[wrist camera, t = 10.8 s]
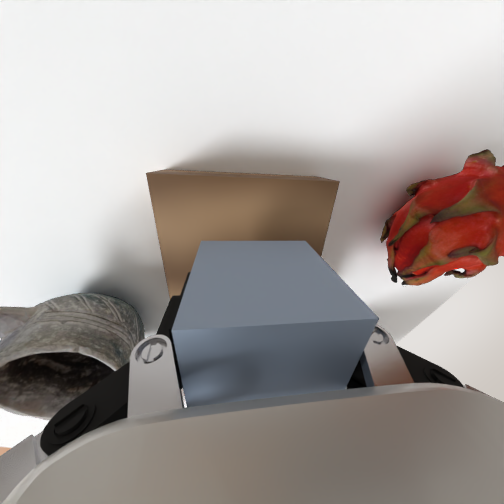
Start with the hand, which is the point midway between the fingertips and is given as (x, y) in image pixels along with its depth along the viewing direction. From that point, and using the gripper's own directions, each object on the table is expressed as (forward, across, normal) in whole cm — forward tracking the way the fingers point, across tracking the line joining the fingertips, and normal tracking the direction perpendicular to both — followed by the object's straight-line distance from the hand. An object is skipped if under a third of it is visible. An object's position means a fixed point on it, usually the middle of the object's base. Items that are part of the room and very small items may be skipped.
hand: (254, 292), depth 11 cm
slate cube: (+1, 0, 0) cm, 1 cm away
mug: (+7, +15, +7) cm, 18 cm away
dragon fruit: (+7, -16, -3) cm, 18 cm away
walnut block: (+7, 0, 0) cm, 7 cm away
